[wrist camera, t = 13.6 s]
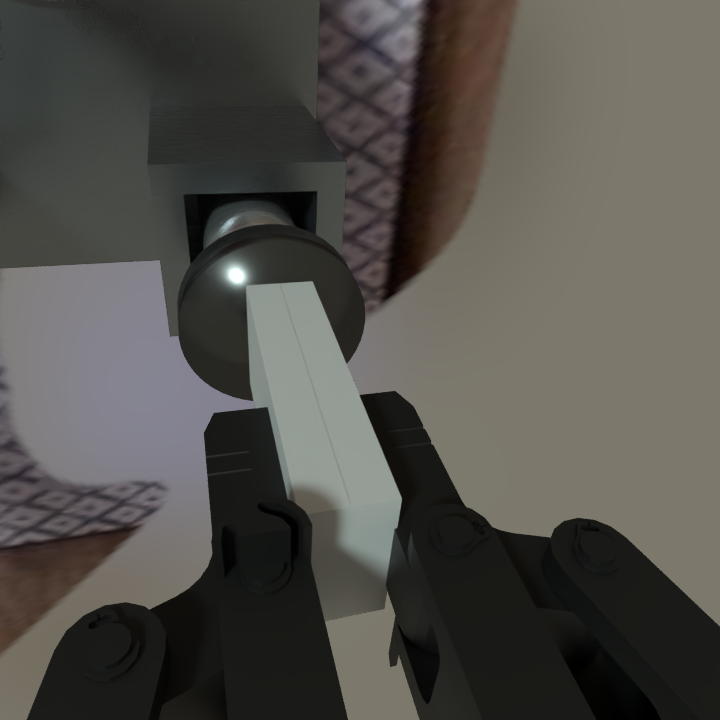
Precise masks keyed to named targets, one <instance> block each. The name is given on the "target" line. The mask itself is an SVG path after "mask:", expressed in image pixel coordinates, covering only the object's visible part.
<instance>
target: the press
mask: <svg viewBox="0 0 720 720" xmlns="http://www.w3.org/2000/svg"><path fill="white" fill-rule="evenodd" d="M319 9H320V0H0V268H16V267H35V266H55V265H75V264H93V263H112V262H113V263H114V262H133V261H152V260H160V263H161V271H162V279H163V286H164V293H165V301H166V308H167V316H168V324H169V331H170V336H179V332H178V312H177V301H178V293H179V289H180V285H181V282H182V280H183V278H184V275H185V273H186V271H187V270H188V268H189V267H190V265H191V263H192V262H193V261H194V260H195V258H196V257H197V256H198V255H199V254H200V253H201V252H202V251H203V243H202V235H201V228H200V220H199V213H198V206H197V198H196V194H221V193H259V192H281V194H282V196H283V199H284V201H285V203H286V206H287V208H288V210H289V212H290V215H291V217H292V219H293V222H294V224H295V226H296V227H298V228H301V229H304V230H307V231H309V232H311V233H314V234H316V235H317V236H319V237H321V238H322V239H324V240H325V241H327V242H328V243H329V244H330V245H332V246H333V247H334V248H335V249H336V250H337V252H338V253H339V254H340V255H341V256H342V240H343V222H344V205H345V188H346V170H347V161H346V160H345V158H344V157H343V156H342V154H341V153H340V152H339V150H338V149H337V148H336V146H335V145H334V144H333V142H332V141H331V140H330V138H329V137H328V136H327V134H326V133H325V132H324V130H323V129H322V128H321V126H320V125H319V124H318V122H317V121H316V118H317V82H318V46H319Z"/></svg>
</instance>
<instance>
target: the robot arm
mask: <svg viewBox="0 0 720 720" xmlns="http://www.w3.org/2000/svg"><path fill="white" fill-rule="evenodd" d="M246 300H247V323H248V346H249V369H250V385H251V390H252V396H253V401H254V406H255V408H254V409H245V410H238V411H228V412H219V413H214V414H213V416H212V418H211V420H210V422H209V424H208V426H207V428H206V430H205V432H204V440H205V451H206V464H207V474H208V488H209V499H210V511H211V523H212V541H211V543H212V552H213V553H212V557H211V560H210V562H209V566H208V567H207V569H206V570H205V572H204V573H203V575H202V576H201V578H200V579H199V580H198V581H197V582H195V584H193V585H192V586H191V587H190V588H189V589H187V590H186V591H185V592H183V593H181V594H179V595H178V596H176V597H174V598H172V599H170V600H168V601H166V602H164V603H162V604H160V605H158V606H156V607H154V608H152V609H150V610H149V609H147V608H146V607H144V606H141V605H136V604H131V603H126V602H125V603H119V604H112V605H105V606H103V607H101V608H99V609H96V610H94V611H92V612H90V613H88V614H86V615H84V616H83V617H82V618H81V619H79V620H78V621H77V622H76V623H75V624H74V625H73V626H72V627H70V628H69V629H68V630H67V631H66V633H65V634H64V636H63V637H62V639H61V641H60V642H59V644H58V645H57V647H56V649H55V650H54V653H53V655H52V658H51V660H50V663H49V665H48V668H47V670H46V673H45V675H44V678H43V680H42V683H41V685H40V688H39V690H38V693H37V695H36V698H35V700H34V703H33V705H32V708H31V711H30V713H29V716H28V718H27V720H348V718H347V714H346V710H345V705H344V701H343V697H342V693H341V688H340V684H339V680H338V675H337V671H336V667H335V663H334V658H333V654H332V650H331V646H330V641H329V638H328V633H327V629H326V625H325V621H328V620H332V619H337V618H342V617H347V616H352V615H357V614H362V613H366V612H371V611H376V610H381V609H384V608H385V601H386V595H387V591H388V594H389V597H390V600H391V603H392V606H393V609H394V612H395V615H396V616H395V621H394V627H393V632H392V638H391V643H390V649H389V660H390V667H392V666H396V665H397V660H398V655H399V657H400V660H401V663H402V666H403V669H404V672H405V675H406V679H407V682H408V685H409V688H410V691H411V694H412V697H413V700H414V703H415V706H416V710H417V713H418V716H419V719H420V720H720V626H719V625H718V624H717V623H715V622H714V621H713V620H712V619H711V618H710V617H709V616H708V615H707V614H706V613H705V612H704V611H703V610H702V609H701V608H699V606H698V605H696V604H695V603H694V602H693V601H692V600H691V599H690V598H689V597H688V596H687V595H686V594H685V593H684V592H683V591H682V590H680V588H679V587H678V586H676V585H675V584H674V583H673V582H672V581H671V580H670V579H669V578H668V577H667V576H666V575H665V574H664V573H663V572H662V571H660V570H659V568H657V567H656V566H655V565H654V564H653V563H652V562H651V561H650V560H649V559H648V558H647V557H646V556H645V555H644V554H643V553H642V552H641V551H640V550H638V549H637V548H636V547H635V546H634V545H633V544H632V543H631V542H630V541H629V540H628V539H627V538H626V537H624V536H623V535H622V534H620V533H619V532H617V531H616V530H615V529H613V528H612V527H610V526H608V525H606V524H603V523H600V522H598V521H596V520H591V519H582V518H576V519H571V520H567V521H564V522H562V523H561V524H560V525H559V526H557V527H556V528H555V529H554V531H553V533H552V536H551V538H549V537H540V536H532V535H523V534H515V533H510V532H505V531H501V530H498V529H496V528H493V527H492V526H491V525H490V524H489V522H488V521H487V520H486V519H485V518H484V517H483V516H481V515H480V514H478V513H477V512H475V511H474V510H472V509H470V508H467V507H466V506H465V505H464V503H463V502H462V500H461V498H460V496H459V495H458V492H457V490H456V489H455V487H454V485H453V483H452V481H451V479H450V477H449V475H448V473H447V471H446V469H445V467H444V465H443V463H442V461H441V459H440V458H439V455H438V453H437V451H436V450H435V447H434V446H433V445H432V444H431V440H430V438H429V436H428V434H427V432H426V430H425V429H423V424H422V422H421V420H420V418H419V416H418V414H417V412H416V410H415V408H414V407H413V406H412V405H411V404H410V403H409V402H408V401H406V400H405V399H404V398H403V397H402V396H401V395H399V394H398V393H397V392H396V391H391V392H382V393H374V394H364V395H359V393H358V391H357V389H356V386H355V383H354V381H353V379H352V376H351V374H350V372H349V369H348V366H347V364H346V362H345V359H344V357H343V354H342V352H341V349H340V347H339V345H338V342H337V340H336V337H335V335H334V332H333V330H332V328H331V325H330V323H329V320H328V318H327V315H326V313H325V311H324V308H323V306H322V303H321V301H320V298H319V296H318V294H317V291H316V289H315V286H314V284H313V281H309V282H293V283H277V284H261V285H246Z"/></svg>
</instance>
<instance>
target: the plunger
mask: <svg viewBox="0 0 720 720" xmlns="http://www.w3.org/2000/svg"><path fill="white" fill-rule="evenodd" d="M196 198H197V206H198V213H199V220H200V228H201V235H202V243H203V251H202V252H201V253H200V254H199V255H198V256H197V257H196V258H195V260H194V261H193V262H192V263H191V265H190V267H189V268H188V270H187V271H186V273H185V275H184V278H183V280H182V282H181V285H180V289H179V293H178V301H177V312H178V332H179V340H180V345H181V349H182V351H183V354H184V357H185V358H186V360H187V362H188V364H189V365H190V367H191V368H192V369H193V371H194V372H195V373H196V374H197V375H198V376H199V377H200V378H201V379H202V380H203V381H204V382H206V383H207V384H209V385H210V386H211V387H213V388H215V389H216V390H218V391H220V392H222V393H225V394H227V395H230V396H232V397H236V398H240V399H244V400H251V401H253V396H252V390H251V385H250V369H249V346H248V323H247V300H246V285H261V284H277V283H293V282H309V281H313V284H314V286H315V289H316V291H317V294H318V296H319V298H320V301H321V303H322V306H323V308H324V311H325V313H326V315H327V318H328V320H329V323H330V325H331V328H332V330H333V332H334V335H335V337H336V340H337V342H338V345H339V347H340V349H341V352H342V354H343V357H344V359H345V362H346V364H347V363H348V362H349V360H350V359H351V357H352V356H353V354H354V353H355V351H356V349H357V347H358V345H359V342H360V340H361V337H362V334H363V330H364V324H365V307H364V301H363V297H362V294H361V291H360V289H359V287H358V285H357V283H356V281H355V279H354V277H353V275H352V273H351V271H350V270H349V268H348V266H347V264H346V262H345V261H344V259H343V258H342V256H341V255H340V254H339V253H338V252H337V250H336V249H335V248H334V247H333V246H332V245H330V244H329V243H328V242H327V241H325V240H324V239H322V238H321V237H319V236H317V235H316V234H314V233H311V232H309V231H307V230H304V229H301V228H298V227H296V226H295V224H294V222H293V219H292V217H291V215H290V212H289V210H288V208H287V206H286V203H285V201H284V199H283V196H282V194H281V192H259V193H221V194H196Z"/></svg>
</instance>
